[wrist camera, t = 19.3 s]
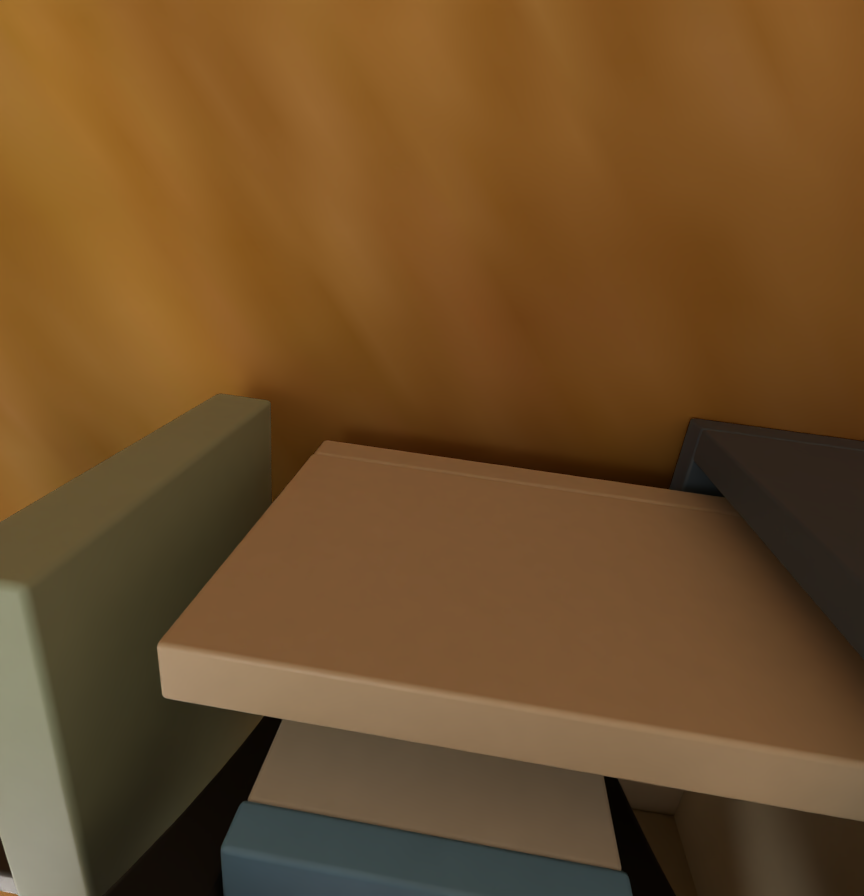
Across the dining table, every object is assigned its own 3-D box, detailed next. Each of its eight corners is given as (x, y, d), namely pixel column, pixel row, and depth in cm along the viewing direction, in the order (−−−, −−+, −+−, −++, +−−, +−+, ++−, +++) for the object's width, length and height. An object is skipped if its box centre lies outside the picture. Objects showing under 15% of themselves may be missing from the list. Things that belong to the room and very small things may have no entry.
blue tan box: (326, 761, 12) (232, 1054, 8) (334, 590, 10) (217, 850, 6) (534, 798, 12) (556, 1124, 7) (579, 630, 10) (643, 932, 6)
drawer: (70, 706, 16) (-196, 1001, 10) (-1, 360, 12) (-516, 498, 6) (676, 815, 15) (802, 1222, 9) (822, 476, 11) (1236, 790, 5)
